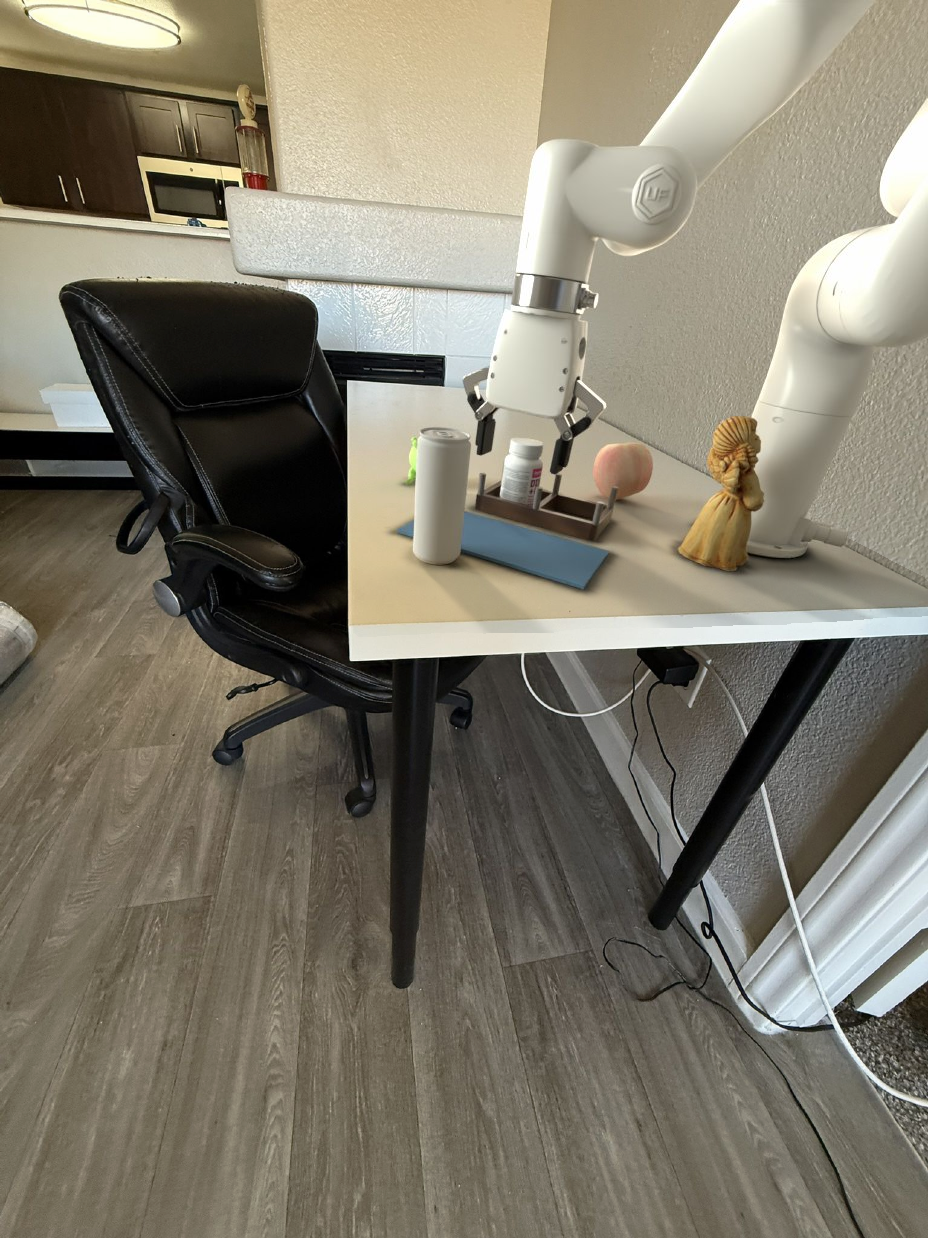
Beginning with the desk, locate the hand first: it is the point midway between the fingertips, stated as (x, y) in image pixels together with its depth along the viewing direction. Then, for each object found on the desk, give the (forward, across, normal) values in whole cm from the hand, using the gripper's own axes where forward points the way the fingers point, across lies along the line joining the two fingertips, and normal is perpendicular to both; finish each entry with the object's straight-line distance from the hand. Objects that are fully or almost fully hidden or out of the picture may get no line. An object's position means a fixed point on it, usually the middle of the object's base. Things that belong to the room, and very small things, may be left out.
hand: (519, 462), depth 64 cm
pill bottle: (+6, -1, 0) cm, 6 cm away
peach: (+6, -10, -14) cm, 19 cm away
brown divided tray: (+6, -4, 0) cm, 7 cm away
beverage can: (+6, 0, +19) cm, 20 cm away
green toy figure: (+6, +14, -2) cm, 15 cm away
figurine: (+6, -24, -1) cm, 25 cm away
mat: (+6, -4, +11) cm, 13 cm away
